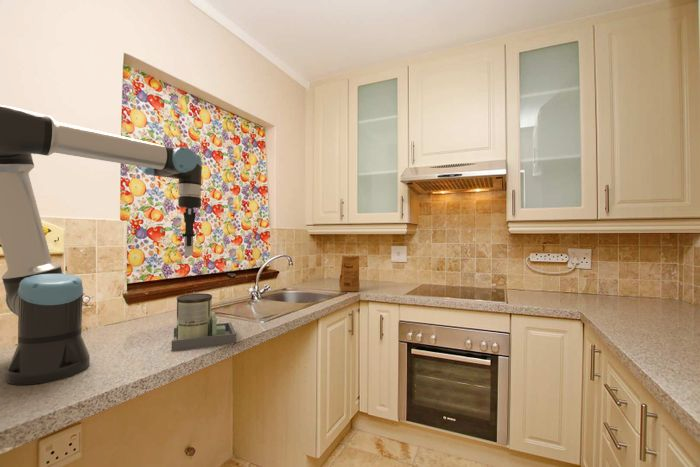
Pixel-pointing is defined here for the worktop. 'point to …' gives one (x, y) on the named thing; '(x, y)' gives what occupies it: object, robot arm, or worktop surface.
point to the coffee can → (194, 315)
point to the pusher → (214, 328)
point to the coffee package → (349, 274)
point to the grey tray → (205, 339)
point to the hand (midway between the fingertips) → (188, 254)
